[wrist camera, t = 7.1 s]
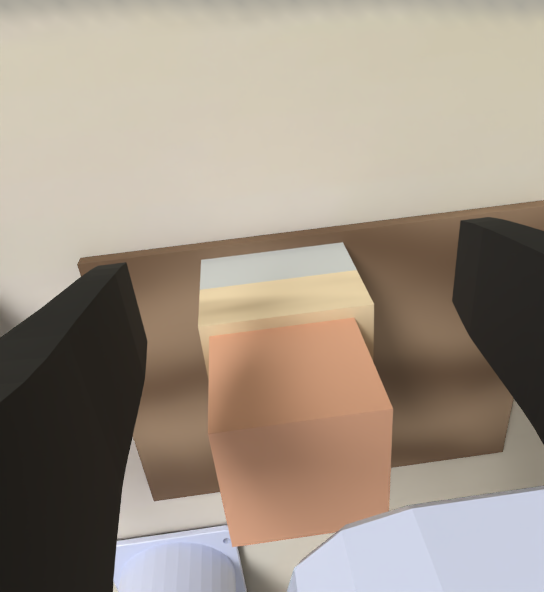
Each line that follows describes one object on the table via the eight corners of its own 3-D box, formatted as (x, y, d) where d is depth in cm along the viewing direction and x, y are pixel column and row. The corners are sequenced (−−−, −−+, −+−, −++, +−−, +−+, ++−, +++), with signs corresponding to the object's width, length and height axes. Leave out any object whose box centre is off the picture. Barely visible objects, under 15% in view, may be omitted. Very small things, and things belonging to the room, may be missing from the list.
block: (355, 423, 20) (388, 524, 16) (228, 440, 20) (232, 547, 16) (354, 317, 18) (393, 408, 14) (209, 336, 18) (207, 433, 14)
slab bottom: (345, 354, 25) (357, 389, 23) (221, 371, 25) (222, 407, 23) (342, 242, 22) (356, 270, 20) (201, 259, 22) (199, 289, 19)
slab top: (357, 389, 23) (372, 431, 21) (222, 407, 23) (222, 451, 20) (356, 270, 20) (374, 304, 18) (199, 289, 19) (197, 326, 17)
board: (497, 444, 30) (502, 451, 30) (154, 492, 29) (154, 501, 29) (544, 200, 22) (552, 205, 22) (80, 258, 22) (77, 264, 21)
